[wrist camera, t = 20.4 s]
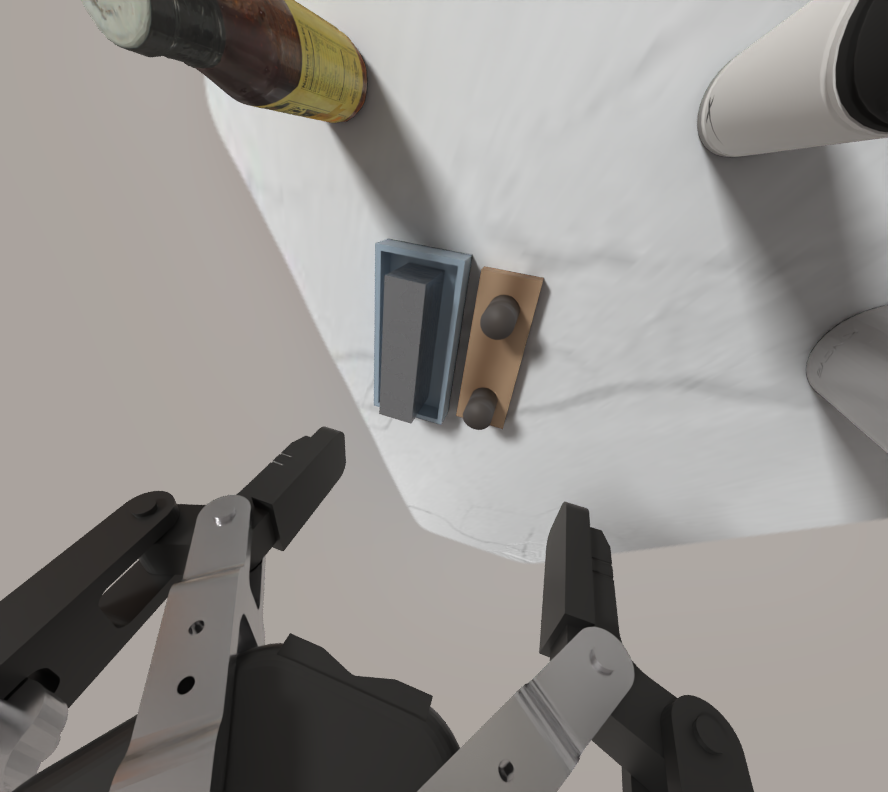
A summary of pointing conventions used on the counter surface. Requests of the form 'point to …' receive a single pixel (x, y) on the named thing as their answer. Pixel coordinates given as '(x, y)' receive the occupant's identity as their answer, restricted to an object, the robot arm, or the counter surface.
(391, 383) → the steel bar
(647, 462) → the counter surface
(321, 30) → the sauce bottle
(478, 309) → the peg rack
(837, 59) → the travel mug
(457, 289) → the slot tray
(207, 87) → the counter surface
